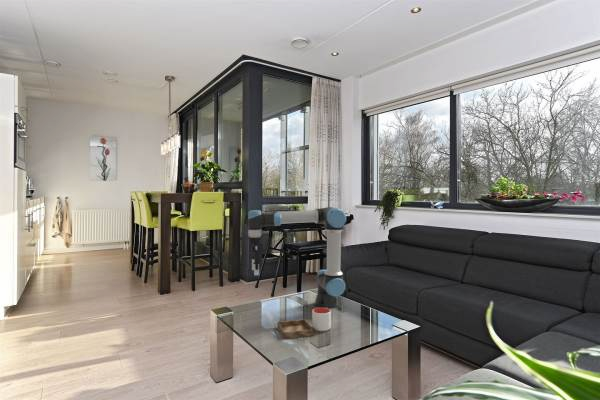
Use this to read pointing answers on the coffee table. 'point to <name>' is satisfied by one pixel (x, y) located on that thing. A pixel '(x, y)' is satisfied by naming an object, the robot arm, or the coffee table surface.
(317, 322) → the cup
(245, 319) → the coffee table surface
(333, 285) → the robot arm
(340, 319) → the coffee table surface
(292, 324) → the wooden tray
